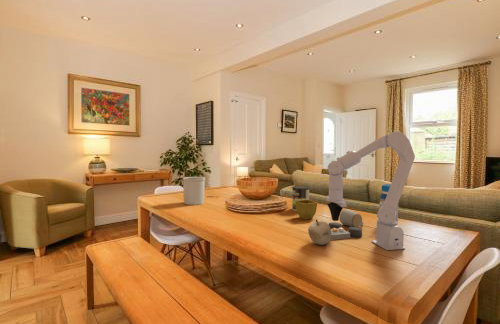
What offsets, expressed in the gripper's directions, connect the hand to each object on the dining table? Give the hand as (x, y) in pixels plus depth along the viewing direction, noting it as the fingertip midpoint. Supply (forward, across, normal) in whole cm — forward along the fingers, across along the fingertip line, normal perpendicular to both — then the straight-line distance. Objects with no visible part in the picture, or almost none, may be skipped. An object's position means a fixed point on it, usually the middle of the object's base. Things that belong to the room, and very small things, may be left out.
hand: (335, 220), depth 116 cm
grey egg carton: (+7, 0, 0) cm, 7 cm away
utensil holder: (+7, -82, -62) cm, 103 cm away
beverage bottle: (+7, -10, +33) cm, 35 cm away
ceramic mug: (+7, -13, +16) cm, 22 cm away
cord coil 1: (+7, -8, +4) cm, 11 cm away
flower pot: (+7, -31, -1) cm, 32 cm away
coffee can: (+7, -50, +3) cm, 51 cm away
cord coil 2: (+7, 0, +9) cm, 11 cm away
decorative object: (+7, +8, -11) cm, 15 cm away
